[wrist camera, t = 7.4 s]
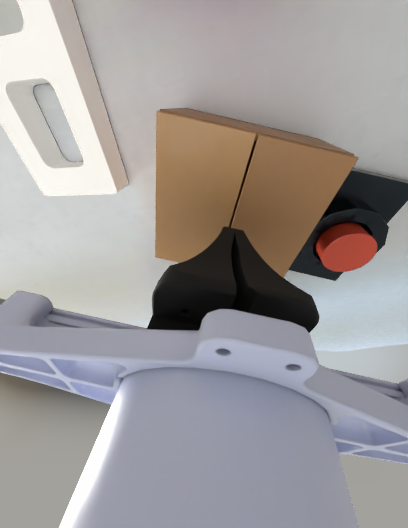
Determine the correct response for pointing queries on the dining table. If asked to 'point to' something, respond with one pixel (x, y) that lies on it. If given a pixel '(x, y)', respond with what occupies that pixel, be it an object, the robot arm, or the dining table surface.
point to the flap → (196, 182)
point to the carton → (282, 187)
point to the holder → (70, 97)
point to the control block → (355, 215)
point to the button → (345, 247)
